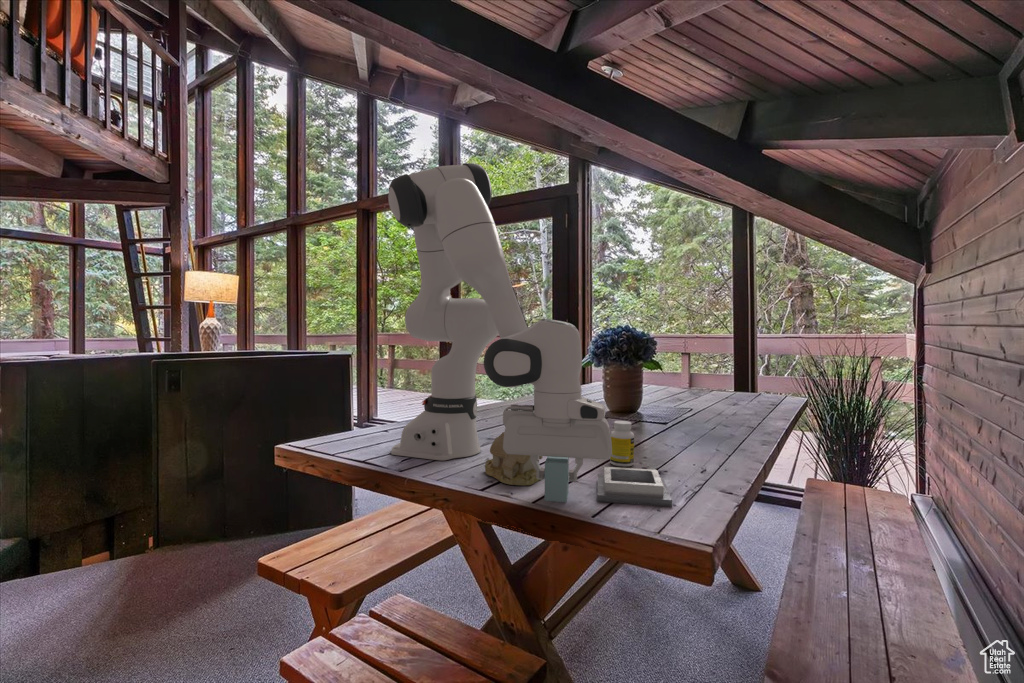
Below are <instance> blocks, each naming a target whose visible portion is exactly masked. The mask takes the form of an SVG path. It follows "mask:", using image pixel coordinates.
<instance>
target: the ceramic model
mask: <svg viewBox="0 0 1024 683" xmlns="http://www.w3.org/2000/svg"><path fill="white" fill-rule="evenodd" d="M504 432H505V431H503V432H501V434H499V436H497V437H495V438H494V440H493V442H492V443H491V445H490V447H489V448H490V449H489V453H490V454H491V455H492V458H490V459H486V461H485V464H484V469H485V472H484V473H485V474H486V475H487V476H489V477H493V478H495V479H496V480H498V481H499V482H501V483H503V484H505V485H506V484H507V485H511V486H513V485H515V486H533V484H535V483H537V482H539V481H541V480H543V479H537V478H536V473H537V470H535V468H534V466H533V464H532V462H531V455H514V454H507V453H506V452H505V451H504V449H503V440H504ZM542 459H543V456H539V460H538V463H539V464H540V460H542Z"/></svg>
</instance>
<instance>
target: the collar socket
mask: <svg viewBox="0 0 1024 683" xmlns="http://www.w3.org/2000/svg"><path fill="white" fill-rule="evenodd" d="M603 468H604V469H603V472H604V473H603V474H600V473H599V474H597V493H596V494H597V499H596V500H597V501H596V502H597V503H598V502H599V503H610V504H611V503H612V504H626V505H641V506H642V505H643V506H653V507H654V506H655V507H656V506H658V507H671V508H672V507H673V499H672V496H671V494H670V492H669V490H668V488H667V485H666V482H665V480H664V478H663V477H660V474H659V471H658V470H657V469H650V468H636V467H635V468H632V467H618V466H616V467H615V466H603Z"/></svg>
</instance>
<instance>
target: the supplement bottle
mask: <svg viewBox="0 0 1024 683" xmlns="http://www.w3.org/2000/svg"><path fill="white" fill-rule="evenodd" d="M613 428H614V430H613V431H612V430H611V431H610V434H611V442H612V455H611V457H610V458H609V463H610V464H612V465H613V466H614V467H615V466H616V467H621V468H629V467H631V466H633V465H634V464H635V463H634V459H635V434H634V432H633V431H631V429H632V422H631V421H626V420H616V421H614V422H613Z"/></svg>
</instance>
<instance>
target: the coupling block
mask: <svg viewBox="0 0 1024 683" xmlns="http://www.w3.org/2000/svg"><path fill="white" fill-rule="evenodd" d="M569 463H570V458H569V457H550V456H546V459H545V460H544V468H545V479H544V502H559V503H567V501H568V496H569V487H570V486H569V484H570V483H569V482H570V481H569V470H570V466H569V465H570V464H569Z"/></svg>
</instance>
